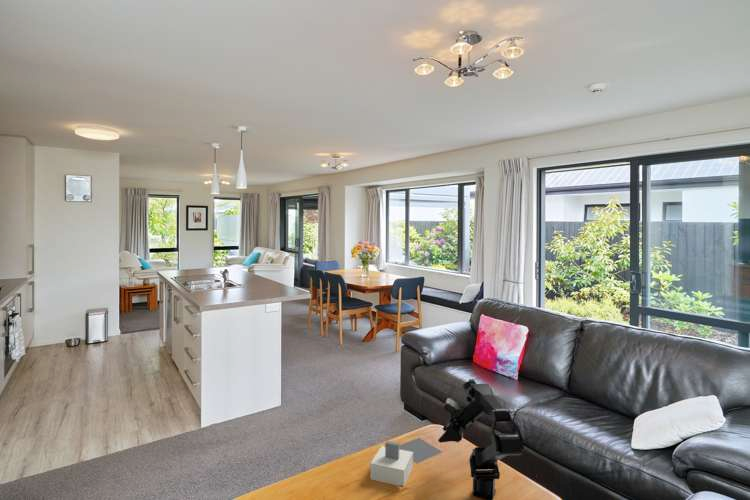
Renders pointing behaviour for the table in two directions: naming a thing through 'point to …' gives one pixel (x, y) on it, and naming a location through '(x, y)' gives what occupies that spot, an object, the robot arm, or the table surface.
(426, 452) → the mat
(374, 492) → the table surface
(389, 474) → the cover
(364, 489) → the table surface
